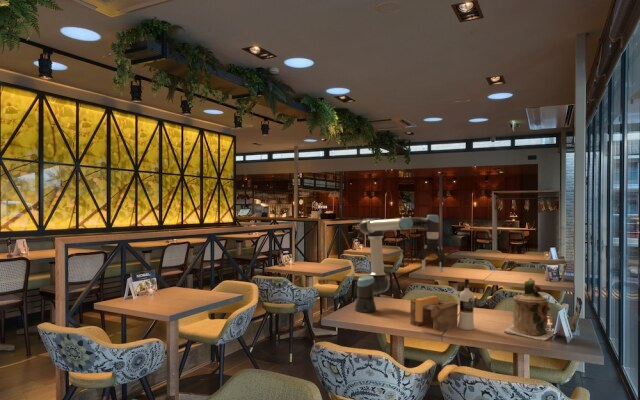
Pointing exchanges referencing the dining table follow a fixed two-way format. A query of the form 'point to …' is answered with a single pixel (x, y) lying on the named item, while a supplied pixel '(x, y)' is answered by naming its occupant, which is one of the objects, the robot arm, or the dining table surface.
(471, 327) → the vodka
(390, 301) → the dining table surface
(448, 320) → the dark wooden box
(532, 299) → the cookie jar
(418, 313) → the wooden u-shaped block
